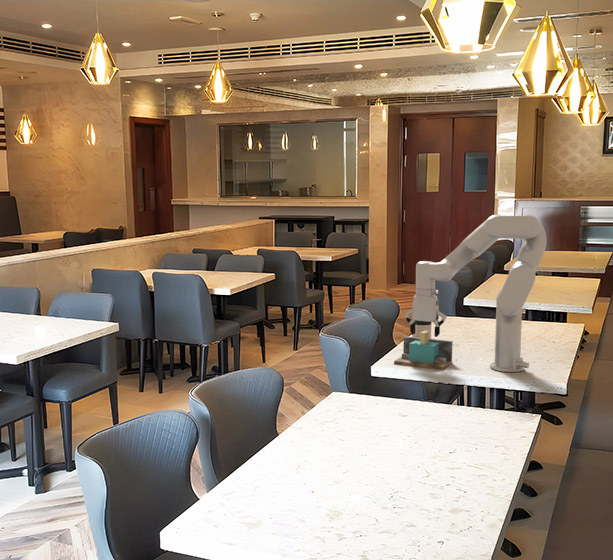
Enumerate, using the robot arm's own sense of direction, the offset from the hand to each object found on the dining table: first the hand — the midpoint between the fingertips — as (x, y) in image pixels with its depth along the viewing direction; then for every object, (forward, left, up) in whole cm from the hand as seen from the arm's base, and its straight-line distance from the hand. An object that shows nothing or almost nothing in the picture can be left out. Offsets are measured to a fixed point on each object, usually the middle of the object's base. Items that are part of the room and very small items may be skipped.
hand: (424, 335), depth 280 cm
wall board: (0, +1, -11) cm, 11 cm away
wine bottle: (+12, -15, -12) cm, 23 cm away
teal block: (0, 0, -10) cm, 10 cm away
